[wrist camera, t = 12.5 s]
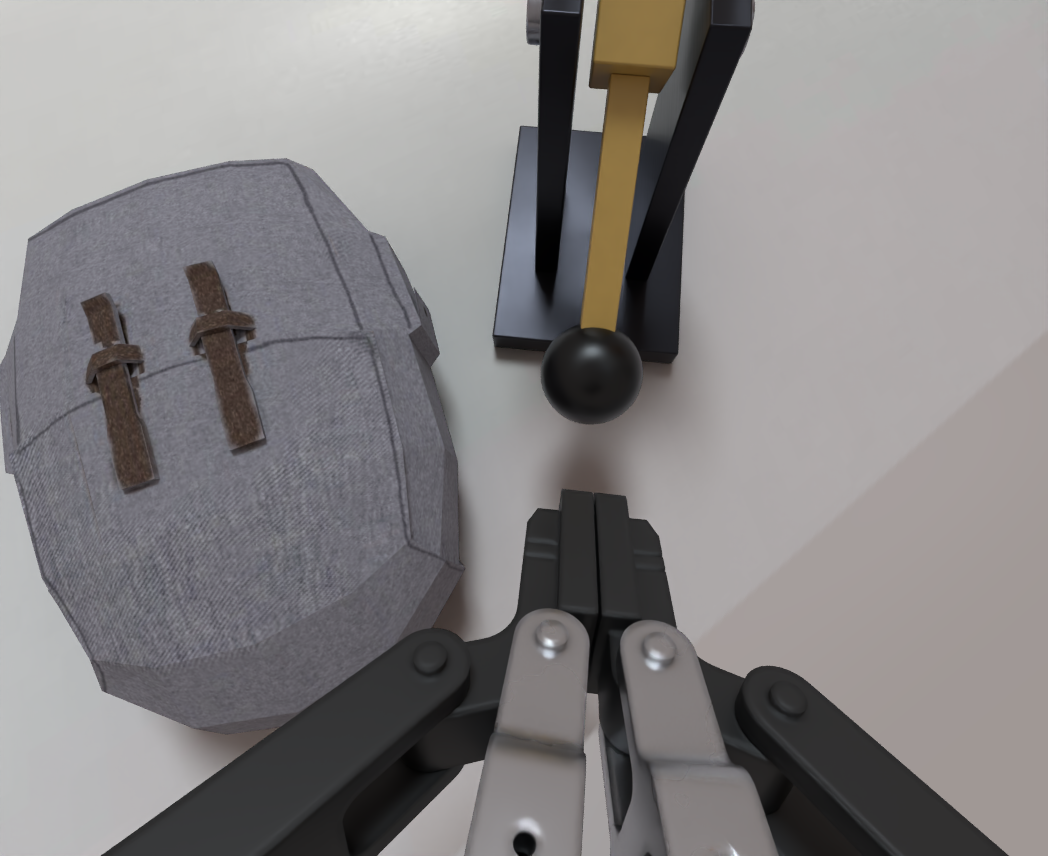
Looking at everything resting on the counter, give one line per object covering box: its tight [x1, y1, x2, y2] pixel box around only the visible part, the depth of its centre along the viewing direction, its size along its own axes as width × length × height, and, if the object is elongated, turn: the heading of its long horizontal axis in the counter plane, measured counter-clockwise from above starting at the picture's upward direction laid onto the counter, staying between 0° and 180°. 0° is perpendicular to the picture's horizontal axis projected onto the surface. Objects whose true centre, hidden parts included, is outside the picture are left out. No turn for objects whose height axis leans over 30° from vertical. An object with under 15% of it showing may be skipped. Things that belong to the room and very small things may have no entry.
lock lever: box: [541, 0, 686, 424], centre depth 17 cm, size 13×3×3 cm
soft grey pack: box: [0, 158, 465, 734], centre depth 19 cm, size 15×8×20 cm
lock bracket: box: [493, 0, 755, 363], centre depth 19 cm, size 11×8×13 cm
